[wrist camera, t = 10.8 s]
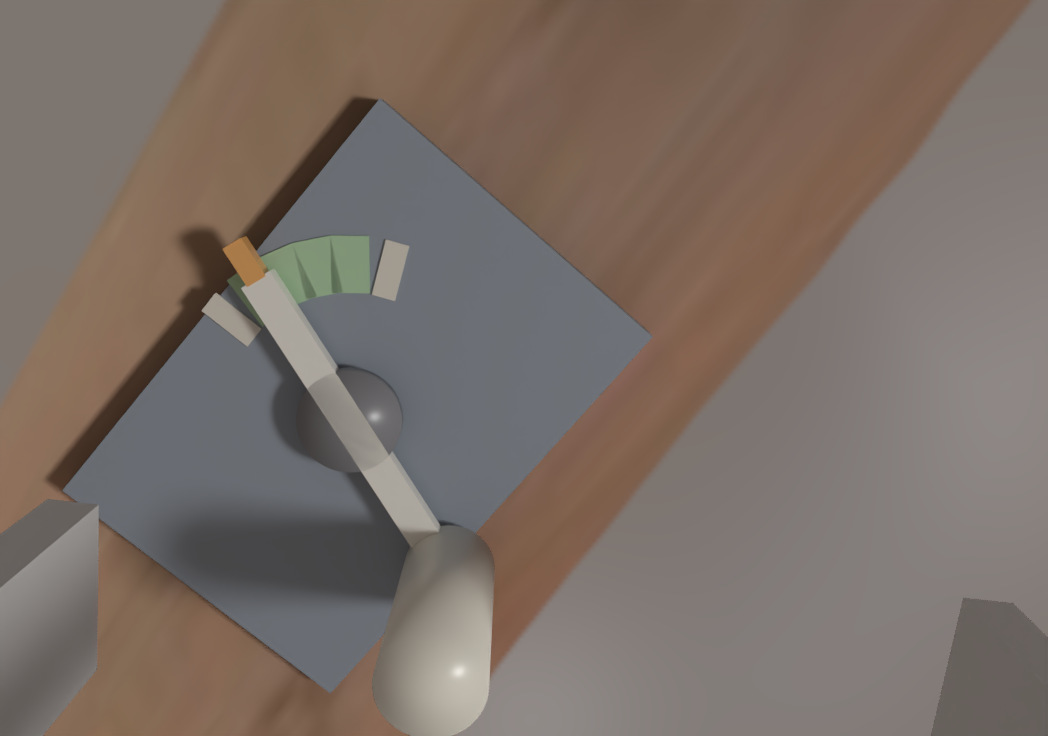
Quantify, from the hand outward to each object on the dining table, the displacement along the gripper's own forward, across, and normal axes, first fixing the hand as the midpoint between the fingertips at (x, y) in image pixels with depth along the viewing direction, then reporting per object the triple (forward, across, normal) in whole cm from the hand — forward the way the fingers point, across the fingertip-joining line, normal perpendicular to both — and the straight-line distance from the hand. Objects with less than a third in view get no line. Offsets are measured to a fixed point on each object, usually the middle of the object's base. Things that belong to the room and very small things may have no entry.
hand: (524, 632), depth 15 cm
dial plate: (+28, -7, -5) cm, 30 cm away
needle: (+27, -7, -6) cm, 28 cm away
